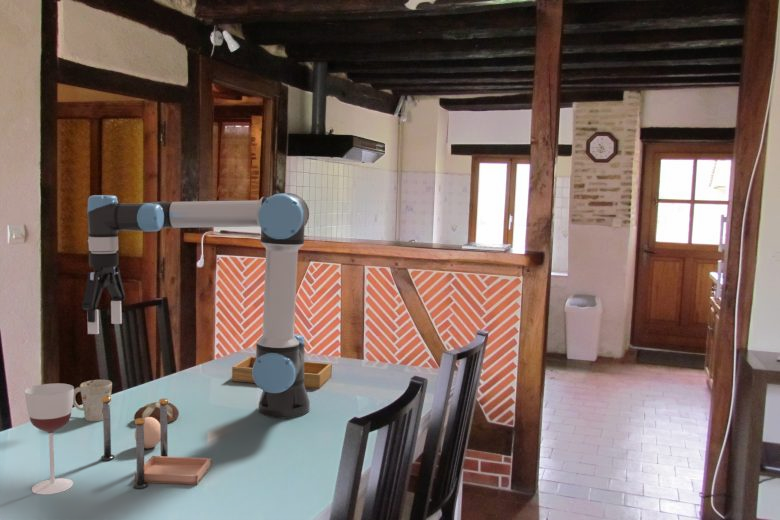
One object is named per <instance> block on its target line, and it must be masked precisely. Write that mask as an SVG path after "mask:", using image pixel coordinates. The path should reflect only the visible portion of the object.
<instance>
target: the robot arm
mask: <svg viewBox="0 0 780 520" xmlns="http://www.w3.org/2000/svg"><path fill="white" fill-rule="evenodd" d="M86 214H87V228H88V229H87V231H88V232H87V233H88V235H87V236H88V239H87V243H88V251H90V252H89V253H88V266H89V267H91V268H93V272H91V271H88V272H87V280H86V281H87V282H86V285H85V286H86V287H85V291H84V295H83V300H82V304H81V309H82V310H85V311H86V312H87V313H86V315H87V317H86V318H87V322H86V323H87V335H98V334H100V326H99V325H100V323H99V320H100V319H99V316H100V315H99V309H97V308H98V306H99V302H100V300H101V296H102V294H103V291H104V290H105V289H107V291H108V293H109V295H110V297H111V299H112V300H111V301H110V317H111V318H110V321H111V322H110V323H111V324H112V325H113V324H115V325H122V323H123V321H122V320H123V318H122V316H123V315H122V313H123V312H122V301H125V300H126V292H125V287H124V285H123V281H122V276H121V271H120V269H121V268H120V267H119V263H120V262H119V261H120V259H119V253H118V252H117V251H119V232H120V231H121V232H122V231H123V232H124V231H126V232H127V231H128V232H129V231H130V232H146V233H149V232H150V233H151V232H159V231H161V230H162V229H176V228H177V229H178V228H181V229H182V228H245V227H246V228H257V227H258V228H260V244H261V245H262V246H263V247H264V248H265V265H264V268H265V269H264V289H263V290H264V291H263V292H264V293H263V294H264V295H263V314H262V315H263V316H262V335H261V336H260V337H259V338H258V339H257V340H256V347H255V350H256V351H255V357H256V361H255V362H254V364H253V368H252V376H253V379H254V382H255V383H254V384H255V385H256V386H257V387H258V388H259V389H260V390H262V391H261V395H260V398H259V401H258V413H259V414H260V415H262V416H265V417H269V418H277V419H280V418H281V419H285V418H286V419H288V418H296V417H301V416H303V415H305V414H308V412H309V411H310V410H311V404H310V403H311V401H310V399H309V395H308V393H307V390H306V389H307V388H305V386H304V361H305V347H306V343H305V337H304V335H302V334H298V333H295V322H296V321H295V319H296V296H297V278H298V277H297V276H298V275H297V274H298V273H297V272H298V258H299V257H298V256H299V255H298V253H299V250H300V249H301V248H302V247H303V246H305V245H304V243H305V240H304V239H305V227H306V225H307V224H308V221H309V219H310V210H309V206H308V204H307V203H306V201H305V200H304V199H303V198H302V197H301V196H300V195H298V194H295V193H290V192H289V193H288V192H287V193H281V192H280V193H275V194H273V195H270V196H262V197H261V198H260V199H258V200H257V199H256V200H213V201H212V200H209V201H208V200H206V201H201V200H200V201H152V202H140V203H137V202H136V203H129V202H128V203H123V202H119V201H118V197H117V196H116V195H110V194H109V195H107V194H106V195H103V194H99V195H98V194H97V195H96V194H94V195H90V196H89V197H88V199H87V211H86Z"/></svg>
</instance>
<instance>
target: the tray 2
mask: <svg viewBox="0 0 780 520" xmlns="http://www.w3.org/2000/svg"><path fill="white" fill-rule="evenodd" d="M255 361H256V356H248V357H246V358H244V359H243V360H242V361H239V362H238V363H237V364H234V365H233V366H232V368H231V379H232V380H231V381H233V382H242V383H252V384H256V383H255V382H254V379H253V376H252V368H253V364H254V362H255ZM332 368H333V364H332V363H327V362H326V363H325V362H317V361H307V360H306V361H305V360H304V386H305V389H311V390H312V389H314V390H315V389H316V390H320V389H321V388H322V387H323V386H324V385H325V384H326V383H327V382H328V381H329V380H330V379H331V378H332V375H333V374H332V373H333V371H332V370H333V369H332Z"/></svg>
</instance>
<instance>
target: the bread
mask: <svg viewBox="0 0 780 520" xmlns="http://www.w3.org/2000/svg"><path fill="white" fill-rule="evenodd" d="M179 415H180V412H179V409H178V408H177V406H176V405H174V404H173V403H171V402H168V403H167V424H168V423H171V422H174V421H176V420H177V419H178V417H179ZM146 417H152V418H155V419H156V420H157V421H158V422H159V423H160V404H159V401H158V402H157V401H155V402H151V403H147V404H146V405H144V406H141V407H140V408H139V409H137V411H136V412H135V413H134V417H133V420H134V421H135V419H137V418H146ZM175 419H176V420H175Z"/></svg>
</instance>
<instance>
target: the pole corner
mask: <svg viewBox="0 0 780 520" xmlns="http://www.w3.org/2000/svg"><path fill="white" fill-rule="evenodd" d="M158 402H159V404H160V438H161V440H160V456H166V457H169V456H168V455H169V454H168V453H169V452H168V451H169V450H168V447H169V445H168V442H169V441H168V423H167V403H169V399H168V398H160V399H159V400H158Z"/></svg>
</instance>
